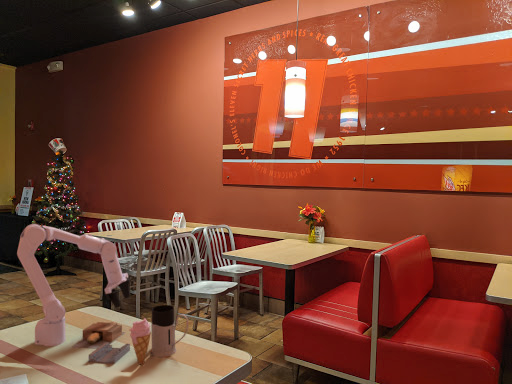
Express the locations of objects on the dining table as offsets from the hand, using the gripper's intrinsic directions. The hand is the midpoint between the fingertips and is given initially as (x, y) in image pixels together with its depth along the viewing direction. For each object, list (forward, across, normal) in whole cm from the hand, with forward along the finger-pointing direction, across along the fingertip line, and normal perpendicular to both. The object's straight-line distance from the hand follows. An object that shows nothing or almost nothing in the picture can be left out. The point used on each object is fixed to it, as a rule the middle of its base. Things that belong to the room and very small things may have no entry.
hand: (122, 302), depth 154 cm
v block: (+8, -26, -7) cm, 28 cm away
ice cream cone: (+10, -29, -19) cm, 36 cm away
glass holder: (+13, -19, -24) cm, 33 cm away
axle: (+7, -12, +4) cm, 14 cm away
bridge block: (+8, -14, +4) cm, 17 cm away
